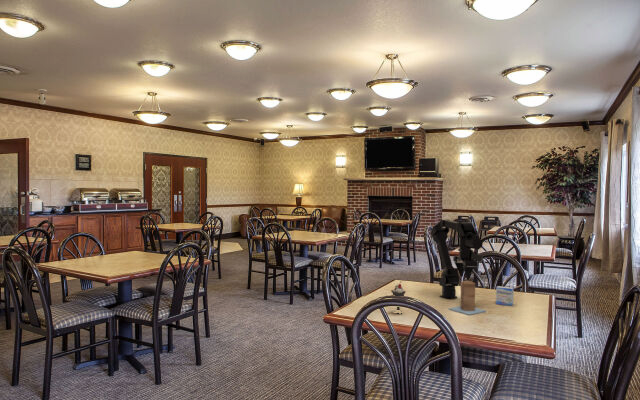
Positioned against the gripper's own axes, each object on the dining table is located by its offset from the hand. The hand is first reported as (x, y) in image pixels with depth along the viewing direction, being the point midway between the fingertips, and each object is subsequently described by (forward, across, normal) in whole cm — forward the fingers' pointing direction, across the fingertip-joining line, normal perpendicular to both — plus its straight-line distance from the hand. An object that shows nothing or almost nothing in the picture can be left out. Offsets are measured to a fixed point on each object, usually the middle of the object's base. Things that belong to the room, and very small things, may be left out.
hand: (464, 278), depth 233 cm
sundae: (+13, -17, +37) cm, 43 cm away
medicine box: (+13, -1, -20) cm, 24 cm away
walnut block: (+12, -14, +4) cm, 19 cm away
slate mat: (+13, -14, +4) cm, 19 cm away
